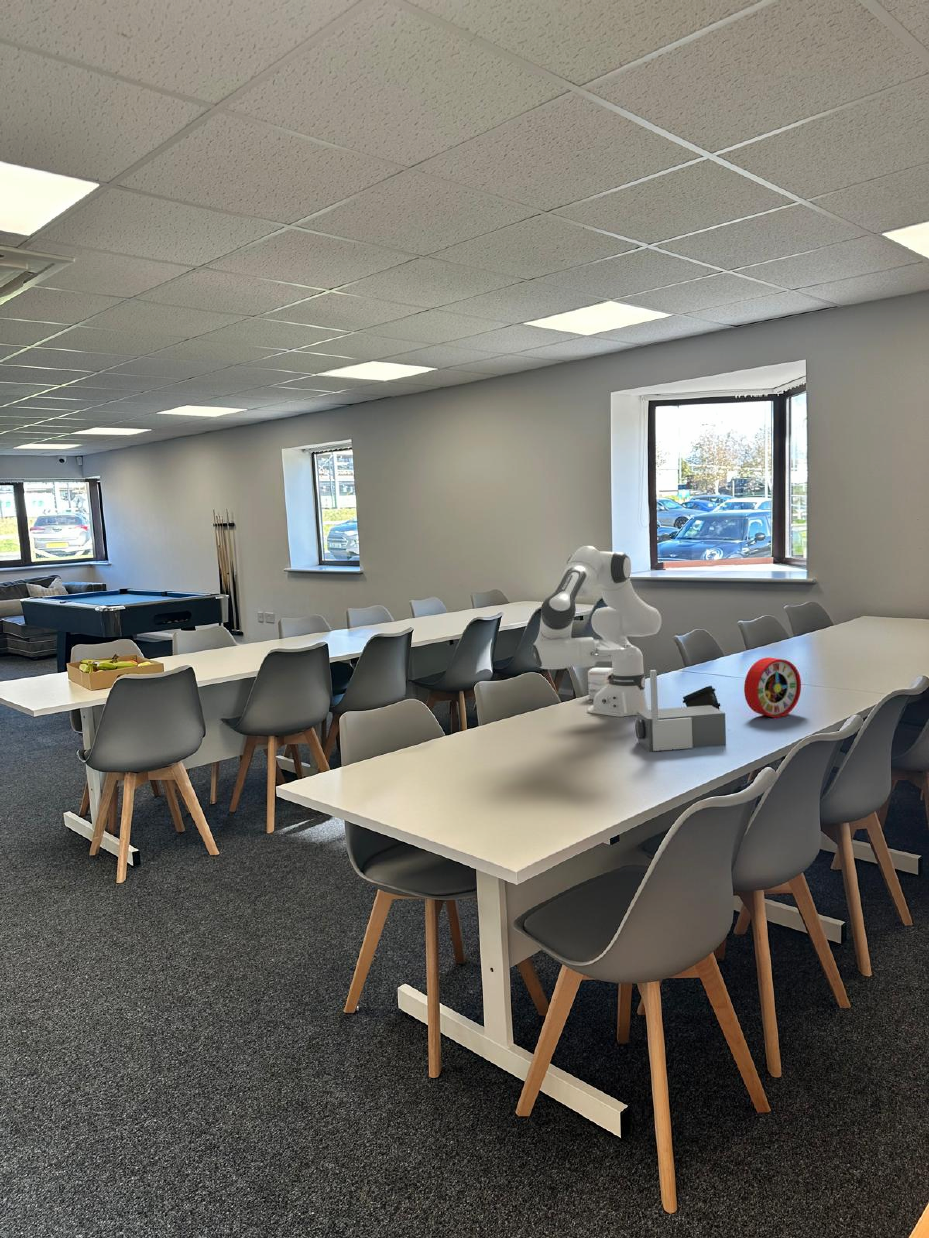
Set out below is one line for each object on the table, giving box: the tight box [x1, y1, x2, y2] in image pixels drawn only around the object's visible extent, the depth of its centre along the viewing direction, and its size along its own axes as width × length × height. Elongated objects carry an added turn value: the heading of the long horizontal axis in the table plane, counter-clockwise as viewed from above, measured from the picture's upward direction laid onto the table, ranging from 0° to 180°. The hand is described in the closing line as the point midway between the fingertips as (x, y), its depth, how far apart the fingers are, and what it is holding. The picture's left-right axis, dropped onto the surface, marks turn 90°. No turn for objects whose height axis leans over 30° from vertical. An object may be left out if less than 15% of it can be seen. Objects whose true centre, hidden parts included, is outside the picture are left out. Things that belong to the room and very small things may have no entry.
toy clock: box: [743, 657, 802, 718], centre depth 292 cm, size 20×6×20 cm, turn 114°
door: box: [649, 669, 693, 752], centre depth 256 cm, size 12×2×25 cm, turn 95°
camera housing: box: [634, 705, 727, 752], centre depth 264 cm, size 26×12×10 cm, turn 95°
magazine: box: [682, 685, 722, 711], centre depth 278 cm, size 4×13×15 cm, turn 37°
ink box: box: [587, 667, 613, 701], centre depth 339 cm, size 9×8×12 cm
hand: (633, 648), depth 253 cm, fingers open, 4 cm apart
